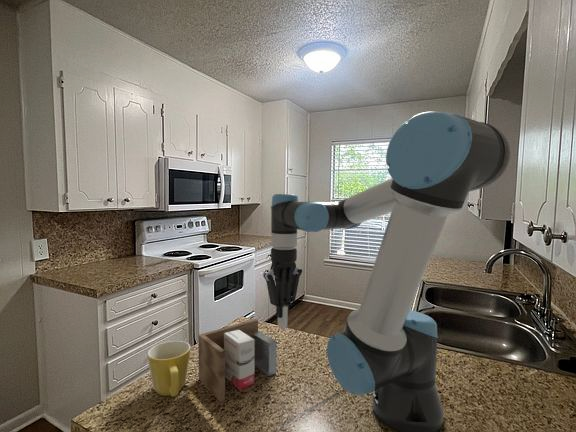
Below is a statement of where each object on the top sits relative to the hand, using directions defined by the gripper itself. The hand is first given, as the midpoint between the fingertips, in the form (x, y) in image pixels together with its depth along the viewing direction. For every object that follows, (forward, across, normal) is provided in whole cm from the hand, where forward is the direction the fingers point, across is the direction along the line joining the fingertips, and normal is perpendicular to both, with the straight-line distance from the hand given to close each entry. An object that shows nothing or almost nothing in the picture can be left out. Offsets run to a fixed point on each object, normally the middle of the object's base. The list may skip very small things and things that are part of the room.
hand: (282, 327), depth 93 cm
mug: (+12, +31, -6) cm, 33 cm away
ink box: (+10, +15, +1) cm, 18 cm away
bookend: (+10, +7, 0) cm, 12 cm away
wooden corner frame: (+11, +14, 0) cm, 18 cm away
